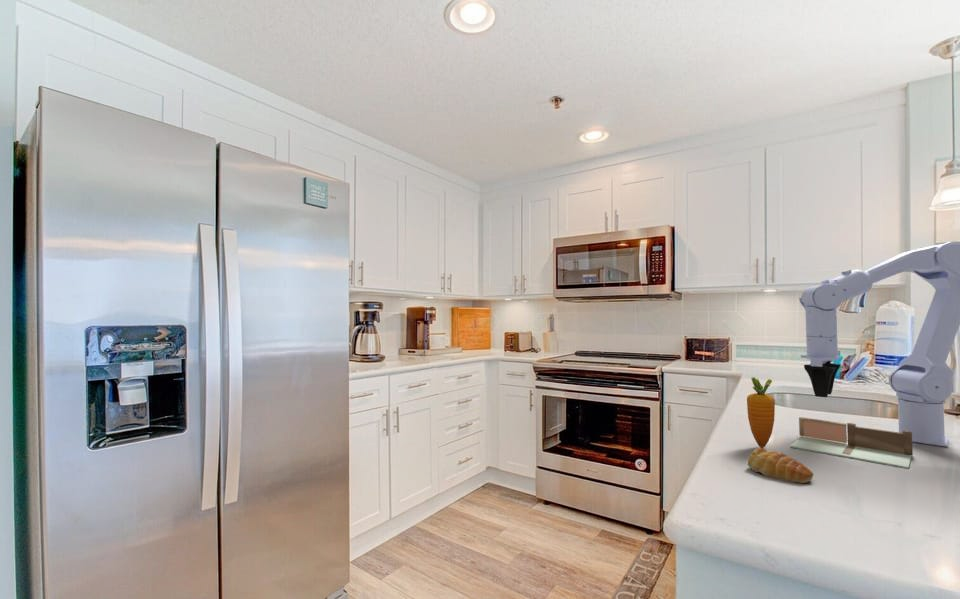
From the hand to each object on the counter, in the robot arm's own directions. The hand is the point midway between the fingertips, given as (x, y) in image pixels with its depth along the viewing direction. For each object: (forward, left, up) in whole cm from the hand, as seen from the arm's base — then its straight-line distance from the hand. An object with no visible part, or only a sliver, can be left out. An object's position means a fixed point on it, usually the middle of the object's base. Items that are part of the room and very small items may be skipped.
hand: (823, 395), depth 101 cm
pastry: (+35, -1, -10) cm, 37 cm away
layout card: (+9, +6, -9) cm, 14 cm away
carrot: (+21, -7, -10) cm, 24 cm away
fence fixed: (+6, +10, -9) cm, 15 cm away
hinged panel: (+6, 0, -9) cm, 11 cm away
